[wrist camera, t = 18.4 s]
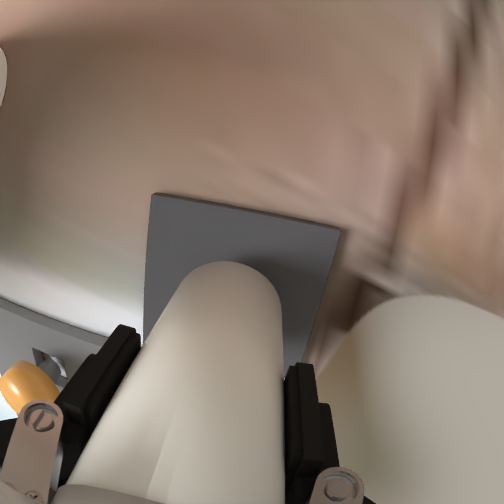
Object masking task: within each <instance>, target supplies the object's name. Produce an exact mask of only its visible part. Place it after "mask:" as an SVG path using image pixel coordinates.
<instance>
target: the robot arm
mask: <svg viewBox="0 0 504 504" xmlns="http://www.w3.org/2000/svg"><path fill="white" fill-rule="evenodd" d="M140 349H141V337H140V334H138V333H136V329H135V328H132V327H129V326H125V325H121V324H120V325H118V326H117V328H116V329H115V330H114V331H113V333H112V334H111V335H110V337H109V338H108V339H107V341H106V342H105V343H104V345H103V346H102V347H101V349H100V350H99V351H98V353H97V354H93V353H92V354H90V355H89V356H88V357H87V358H86V359H85V361H84V362H83V363H82V364H81V366H80V367H79V368H78V370H77V371H76V372H75V374H74V375H73V376H72V378H71V379H70V380H69V382H68V383H67V384H66V386H65V387H64V389H63V390H62V391H61V393H60V394H59V395H58V397H57V398H56V400H55V401H54V402H51V401H48V400H42V399H38V400H33V401H31V402H28V403H27V404H26V405H24V406H23V407H22V409H21V411H20V413H19V416H18V418H14V419H8V420H2V421H0V504H51V502H52V500H53V498H54V496H55V494H56V492H57V490H58V488H59V487H61V486H63V485H66V483H67V481H68V479H69V477H70V475H71V473H72V471H73V469H74V467H75V465H76V463H77V461H78V459H79V458H80V456H81V454H82V452H83V450H84V448H85V446H86V444H87V443H88V441H89V439H90V437H91V435H92V433H93V431H94V430H95V428H96V426H97V424H98V422H99V420H100V419H101V417H102V415H103V413H104V411H105V410H106V408H107V406H108V404H109V403H110V401H111V399H112V397H113V395H114V394H115V392H116V390H117V388H118V387H119V385H120V383H121V382H122V380H123V378H124V376H125V375H126V373H127V371H128V369H129V368H130V366H131V364H132V363H133V361H134V359H135V357H136V356H137V354H138V352H139V351H140ZM284 414H285V504H376V503H374V502H372V501H371V500H370V499H368V498H367V497H365V496H364V484H363V481H362V479H361V478H360V477H359V476H358V475H357V474H356V473H355V472H353V471H352V470H350V469H347V468H343V467H340V466H339V459H338V453H337V446H336V440H335V434H334V427H333V421H332V415H331V409H330V405H329V404H327V403H319V402H318V395H317V387H316V380H315V373H314V367H313V365H312V364H306V363H300V362H296V364H295V366H291V365H290V366H289V368H288V370H287V373H286V376H285V379H284Z"/></svg>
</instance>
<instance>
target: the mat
mask: <svg viewBox="0 0 504 504" xmlns="http://www.w3.org/2000/svg"><path fill="white" fill-rule="evenodd" d="M340 232H341V231H340V229H339V228H338V227H333V226H328V225H324V224H319V223H315V222H310V221H305V220H300V219H296V218H291V217H286V216H281V215H276V214H271V213H266V212H261V211H256V210H251V209H245V208H240V207H235V206H230V205H224V204H219V203H213V202H208V201H202V200H196V199H191V198H185V197H179V196H173V195H167V194H161V193H154V194H152V196H151V205H150V215H149V226H148V238H147V251H146V266H145V286H144V318H143V344H144V342H145V341H146V339H147V337H148V336H149V334H150V332H151V331H152V329H153V327H154V326H155V324H156V322H157V321H158V319H159V317H160V316H161V314H162V313H163V311H164V309H165V308H166V306H167V304H168V303H169V301H170V300H171V298H172V296H173V295H174V293H175V292H176V290H177V288H178V287H179V285H180V284H181V282H182V281H183V279H184V278H185V277H186V276H187V275H188V274H189V273H190V272H192V271H193V270H194V269H196V268H198V267H200V266H202V265H205V264H207V263H212V262H218V261H230V262H237V263H241V264H244V265H247V266H249V267H251V268H253V269H255V270H257V271H258V272H260V273H261V274H262V275H264V276H265V277H266V278H267V279H268V280H269V281H270V282H271V284H272V285H273V286H274V288H275V290H276V291H277V293H278V296H279V298H280V302H281V309H282V334H283V367H284V378H285V376H286V373H287V370H288V368H289V366H290V365H291V366H295V364H296V362H300V363H301V360H302V357H303V354H304V351H305V348H306V345H307V342H308V339H309V336H310V333H311V330H312V327H313V324H314V321H315V318H316V315H317V312H318V308H319V305H320V302H321V299H322V296H323V292H324V289H325V286H326V282H327V279H328V275H329V272H330V268H331V265H332V261H333V258H334V254H335V251H336V247H337V243H338V240H339V236H340Z"/></svg>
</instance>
